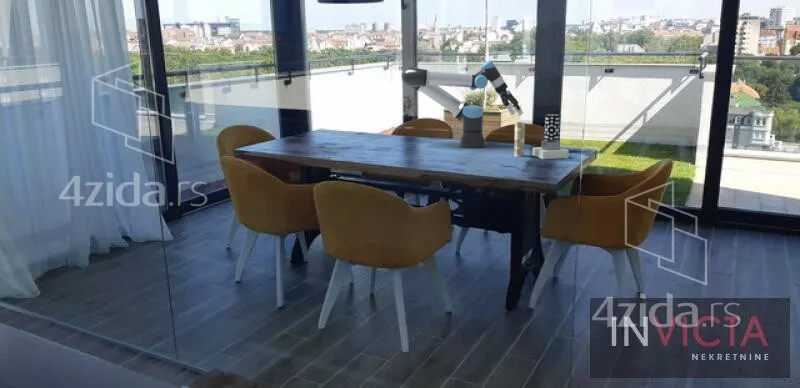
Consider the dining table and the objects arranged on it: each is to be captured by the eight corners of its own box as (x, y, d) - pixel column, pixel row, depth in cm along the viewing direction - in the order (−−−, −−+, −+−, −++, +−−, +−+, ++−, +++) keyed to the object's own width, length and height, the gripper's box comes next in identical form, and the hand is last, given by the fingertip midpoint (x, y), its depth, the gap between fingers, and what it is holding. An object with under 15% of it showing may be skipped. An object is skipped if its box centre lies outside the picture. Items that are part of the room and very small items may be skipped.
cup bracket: (546, 150, 323) (546, 142, 322) (540, 148, 330) (541, 140, 329) (560, 149, 324) (560, 142, 323) (554, 147, 331) (554, 140, 330)
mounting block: (542, 159, 320) (542, 151, 319) (532, 154, 334) (532, 147, 333) (568, 158, 322) (568, 150, 321) (557, 153, 336) (557, 146, 335)
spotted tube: (559, 150, 348) (561, 114, 344) (558, 152, 340) (559, 115, 336) (544, 149, 351) (545, 114, 346) (542, 151, 343) (544, 115, 339)
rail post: (516, 156, 329) (517, 122, 325) (514, 155, 333) (514, 121, 329) (523, 156, 330) (524, 122, 326) (521, 155, 334) (522, 121, 330)
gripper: (511, 80, 361) (530, 110, 366) (497, 82, 386) (515, 110, 390) (501, 87, 361) (519, 118, 365) (487, 89, 385) (505, 117, 390)
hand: (517, 114), depth 378 cm, fingers open, 13 cm apart
